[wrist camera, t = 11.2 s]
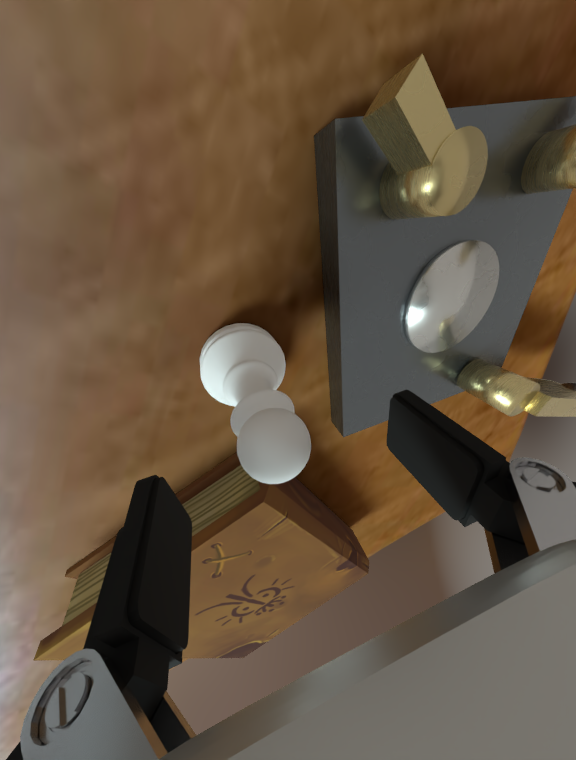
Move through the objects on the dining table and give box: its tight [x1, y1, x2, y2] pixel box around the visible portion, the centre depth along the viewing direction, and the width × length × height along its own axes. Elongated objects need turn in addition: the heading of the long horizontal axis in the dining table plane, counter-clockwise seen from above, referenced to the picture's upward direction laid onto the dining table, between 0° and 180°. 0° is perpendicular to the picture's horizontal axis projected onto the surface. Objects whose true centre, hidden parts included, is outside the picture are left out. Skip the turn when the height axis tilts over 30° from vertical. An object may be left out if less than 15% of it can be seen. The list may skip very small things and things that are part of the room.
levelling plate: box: [314, 53, 576, 437], centre depth 16 cm, size 18×16×5 cm
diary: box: [34, 452, 369, 660], centre depth 24 cm, size 23×19×6 cm
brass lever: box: [457, 359, 576, 417], centre depth 21 cm, size 13×3×5 cm, turn 75°
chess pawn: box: [200, 323, 311, 484], centre depth 12 cm, size 5×5×9 cm
